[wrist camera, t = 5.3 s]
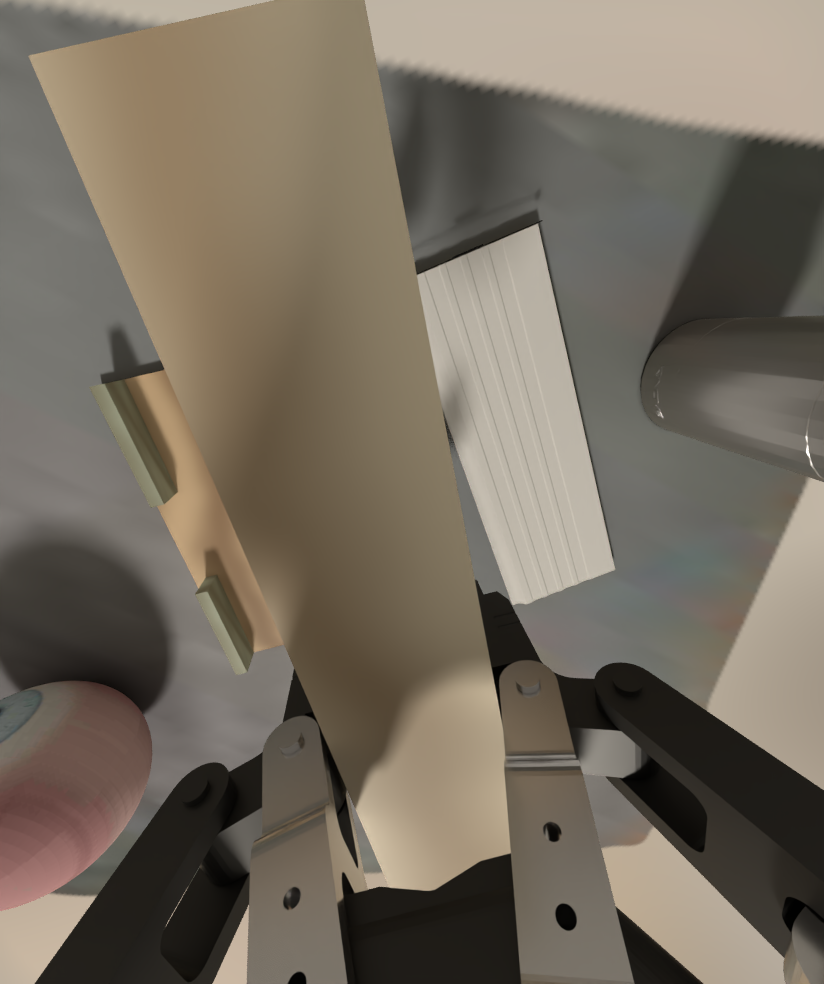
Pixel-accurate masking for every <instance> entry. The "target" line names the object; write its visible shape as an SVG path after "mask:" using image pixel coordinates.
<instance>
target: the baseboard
mask: <svg viewBox="0 0 824 984" xmlns="http://www.w3.org/2000/svg"><path fill="white" fill-rule="evenodd" d="M541 221H542V220H541ZM541 221H539V222H541ZM539 222H537V223H539ZM537 223H535V224H536V225H534V224H532V225H534V226H532V225H530V226H531V227H530V226H528V227H529V228H527V227H525V228H526V229H525V228H523V229H524V230H522V229H521V230H522V231H520V230H518V231H519V232H518V231H516V232H517V233H515V232H514V233H515V234H513V233H511V234H512V235H511V234H509V235H510V236H508V235H506V236H508V237H506V236H504V237H505V238H504V237H502V238H503V239H501V238H499V239H501V240H499V239H497V240H499V241H497V240H495V241H496V242H494V241H492V242H494V243H492V242H490V243H491V244H490V243H488V244H489V245H487V244H485V245H487V246H485V245H483V244H482V245H480V246H477V247H475V248H474V249H470V250H468V251H466V252H464V253H461V254H459V255H457V256H454V257H453V259H454V258H456V259H454V260H452V259H450V260H452V261H450V260H448V261H449V262H447V261H446V262H447V263H445V262H443V263H444V264H443V263H441V264H442V265H440V264H438V265H440V266H438V265H436V266H438V267H436V266H434V267H435V268H433V267H431V268H433V269H431V268H429V269H431V270H429V269H427V270H428V271H426V270H424V271H426V272H424V271H422V272H423V273H422V272H420V273H421V274H419V273H417V274H419V275H417V279H418V284H419V290H420V295H421V300H422V305H423V311H424V316H425V321H426V326H427V332H428V337H429V342H430V347H431V353H432V358H433V363H434V368H435V374H436V379H437V384H438V389H439V395H440V400H441V405H442V410H443V413H444V416H445V419H446V421H447V424H448V427H449V430H450V433H451V435H452V438H453V441H454V444H455V446H456V449H457V452H458V455H459V458H460V460H461V463H462V466H463V469H464V472H465V474H466V477H467V480H468V483H469V485H470V488H471V491H472V494H473V497H474V499H475V502H476V505H477V508H478V510H479V513H480V516H481V519H482V522H483V524H484V527H485V530H486V533H487V536H488V538H489V541H490V544H491V547H492V549H493V552H494V555H495V558H496V561H497V563H498V566H499V569H500V572H501V574H502V577H503V580H504V583H505V586H506V588H507V591H508V594H509V597H510V600H511V602H512V604H513V605H515V604H517V603H524V604H528V603H531V602H533V601H534V600H537V599H539V598H542V597H546V596H548V595H550V594H552V593H555V592H557V591H561V590H564V589H565V588H567V587H570V586H572V585H577V584H579V583H580V582H583V581H585V580H588V579H592V578H595V577H597V576H600V575H602V574H605V573H607V572H610V571H613V570H615V567H614V563H613V558H612V554H611V549H610V545H609V540H608V536H607V531H606V527H605V523H604V518H603V514H602V509H601V505H600V500H599V496H598V491H597V487H596V482H595V478H594V473H593V469H592V464H591V460H590V455H589V451H588V446H587V442H586V437H585V433H584V428H583V424H582V419H581V415H580V410H579V406H578V402H577V397H576V393H575V388H574V384H573V379H572V375H571V370H570V366H569V361H568V357H567V352H566V348H565V343H564V339H563V334H562V330H561V325H560V321H559V316H558V312H557V307H556V303H555V298H554V294H553V289H552V285H551V281H550V276H549V272H548V267H547V263H546V258H545V254H544V249H543V245H542V240H541V236H540V231H539V227H538V224H537ZM483 246H484V247H483ZM480 247H482V248H480ZM478 248H480V249H478ZM476 249H477V250H476ZM473 250H475V251H473ZM471 251H473V252H471ZM469 252H470V253H469ZM466 253H468V254H466ZM464 254H466V255H464ZM462 255H463V256H462ZM459 256H461V257H459ZM457 257H459V258H457Z"/></svg>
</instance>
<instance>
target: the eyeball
mask: <svg viewBox="0 0 824 984" xmlns="http://www.w3.org/2000/svg"><path fill="white" fill-rule="evenodd" d="M151 762H152V741H151V735H150V731H149V727H148V725H147V722H146V720H145V718H144V716H143V714H142V713H141V711H140V709H139V708H138V707H137V706H136V705H135V704H134V703H133V702H132V701H131V700H130V699H129V698H128V697H127V696H125V695H124V694H123V693H121V692H119V691H117V690H115V689H113V688H111V687H109V686H106V685H103V684H99V683H94V682H88V681H61V682H53V683H48V684H43V685H39V686H35V687H32V688H29V689H26V690H23V691H20V692H18V693H15V694H13V695H11V696H9V697H6V698H4V699H2V700H0V911H2V910H6V909H10V908H14V907H18V906H21V905H23V904H26V903H29V902H31V901H34V900H36V899H38V898H40V897H42V896H45V895H47V894H49V893H51V892H53V891H54V890H56V889H58V888H59V887H61V886H63V885H64V884H66V883H68V882H69V881H70V880H72V879H73V878H75V877H76V876H77V875H79V874H80V873H81V872H83V871H84V870H85V869H86V868H88V867H89V866H90V865H91V864H92V863H93V862H94V861H96V860H97V859H98V858H99V857H100V856H101V855H102V854H103V853H104V852H105V851H106V850H107V849H108V847H109V846H110V845H111V844H112V843H113V842H114V841H115V840H116V838H117V837H118V836H119V834H120V833H121V832H122V831H123V829H124V828H125V826H126V825H127V823H128V822H129V820H130V819H131V817H132V815H133V814H134V812H135V810H136V808H137V806H138V804H139V802H140V800H141V798H142V796H143V793H144V791H145V788H146V785H147V781H148V778H149V774H150V769H151Z"/></svg>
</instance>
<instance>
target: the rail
mask: <svg viewBox="0 0 824 984" xmlns="http://www.w3.org/2000/svg"><path fill="white" fill-rule="evenodd" d="M29 58H30V60H31V63H32V65H33V67H34V69H35V72H36V74H37V76H38V79H39V81H40V83H41V86H42V88H43V90H44V92H45V95H46V97H47V99H48V102H49V104H50V106H51V109H52V111H53V113H54V116H55V118H56V120H57V122H58V125H59V127H60V129H61V132H62V134H63V136H64V139H65V141H66V143H67V145H68V148H69V150H70V152H71V155H72V157H73V159H74V162H75V164H76V166H77V169H78V171H79V173H80V175H81V178H82V180H83V182H84V185H85V187H86V189H87V192H88V194H89V196H90V198H91V201H92V203H93V205H94V208H95V210H96V212H97V215H98V217H99V219H100V222H101V224H102V226H103V228H104V231H105V233H106V235H107V238H108V240H109V242H110V245H111V247H112V249H113V251H114V254H115V256H116V258H117V261H118V263H119V265H120V268H121V270H122V272H123V275H124V277H125V279H126V281H127V284H128V286H129V288H130V291H131V293H132V295H133V298H134V300H135V302H136V304H137V307H138V309H139V311H140V314H141V316H142V318H143V321H144V323H145V325H146V328H147V330H148V332H149V334H150V337H151V339H152V341H153V344H154V346H155V348H156V351H157V353H158V355H159V357H160V360H161V362H162V364H163V367H164V369H165V371H166V374H167V376H168V378H169V381H170V383H171V385H172V387H173V390H174V392H175V394H176V397H177V399H178V401H179V404H180V406H181V408H182V410H183V413H184V415H185V417H186V420H187V422H188V424H189V427H190V429H191V431H192V434H193V436H194V438H195V440H196V443H197V445H198V447H199V450H200V452H201V454H202V457H203V459H204V461H205V463H206V466H207V468H208V470H209V473H210V475H211V477H212V480H213V482H214V484H215V487H216V489H217V491H218V493H219V496H220V498H221V500H222V503H223V505H224V507H225V510H226V512H227V514H228V516H229V519H230V521H231V523H232V526H233V528H234V530H235V533H236V535H237V537H238V540H239V542H240V544H241V546H242V549H243V551H244V553H245V556H246V558H247V560H248V563H249V565H250V567H251V569H252V572H253V574H254V576H255V579H256V581H257V583H258V586H259V588H260V590H261V593H262V595H263V597H264V599H265V602H266V604H267V606H268V609H269V611H270V613H271V616H272V618H273V620H274V622H275V625H276V627H277V629H278V632H279V634H280V636H281V639H282V641H283V643H284V646H285V648H286V650H287V652H288V655H289V657H290V659H291V662H292V664H293V666H294V669H295V671H296V673H297V675H298V678H299V680H300V682H301V685H302V687H303V689H304V692H305V694H306V696H307V699H308V701H309V703H310V705H311V708H312V710H313V712H314V715H315V717H316V719H317V722H318V724H319V726H320V728H321V731H322V733H323V735H324V738H325V740H326V742H327V745H328V747H329V749H330V752H331V754H332V756H333V758H334V761H335V763H336V765H337V768H338V770H339V772H340V775H341V777H342V779H343V781H344V784H345V786H346V788H347V791H348V793H349V795H350V798H351V800H352V802H353V804H354V807H355V809H356V811H357V814H358V816H359V818H360V821H361V823H362V825H363V828H364V830H365V832H366V834H367V837H368V839H369V841H370V844H371V846H372V848H373V851H374V853H375V855H376V857H377V860H378V862H379V864H380V867H381V869H382V871H383V874H384V876H385V878H386V881H387V883H388V885H389V887H390V888H400V889H411V890H423V891H431V890H435V889H437V888H438V887H440V886H442V885H443V884H445V883H446V882H448V881H450V880H451V879H453V878H454V877H456V876H458V875H459V874H461V873H462V872H464V871H465V870H467V869H469V868H470V867H472V866H473V865H475V864H477V863H478V862H480V861H482V860H486V859H490V858H494V857H498V856H502V855H506V854H510V853H511V849H510V836H509V824H508V811H507V799H506V786H505V773H504V760H505V747H504V735H503V726H502V721H501V715H500V710H499V705H498V700H497V694H496V689H495V684H494V679H493V673H492V668H491V663H490V658H489V652H488V647H487V642H486V636H485V631H484V626H483V621H482V615H481V610H480V605H479V600H478V594H477V589H476V584H475V579H474V573H473V568H472V563H471V558H470V552H469V547H468V542H467V537H466V531H465V526H464V521H463V516H462V510H461V505H460V500H459V495H458V489H457V484H456V479H455V474H454V468H453V463H452V458H451V453H450V447H449V442H448V437H447V432H446V426H445V421H444V416H443V410H442V405H441V400H440V395H439V389H438V384H437V379H436V374H435V368H434V363H433V358H432V353H431V347H430V342H429V337H428V332H427V326H426V321H425V316H424V311H423V305H422V300H421V295H420V290H419V284H418V279H417V274H416V269H415V263H414V258H413V253H412V248H411V242H410V237H409V232H408V227H407V221H406V216H405V211H404V206H403V200H402V195H401V190H400V184H399V179H398V174H397V169H396V163H395V158H394V153H393V148H392V142H391V137H390V132H389V127H388V121H387V116H386V111H385V106H384V100H383V95H382V90H381V85H380V79H379V74H378V69H377V64H376V58H375V53H374V48H373V43H372V38H371V33H370V27H369V22H368V17H367V11H366V6H365V1H364V0H274V1H269V2H265V3H260V4H256V5H252V6H247V7H243V8H238V9H234V10H229V11H225V12H220V13H216V14H212V15H207V16H203V17H199V18H194V19H189V20H185V21H180V22H176V23H171V24H167V25H163V26H158V27H154V28H149V29H145V30H140V31H136V32H132V33H127V34H123V35H118V36H114V37H109V38H105V39H100V40H96V41H92V42H87V43H83V44H78V45H74V46H69V47H65V48H60V49H56V50H52V51H47V52H43V53H38V54H34V55H29Z"/></svg>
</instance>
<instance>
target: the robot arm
mask: <svg viewBox="0 0 824 984" xmlns="http://www.w3.org/2000/svg"><path fill="white" fill-rule="evenodd" d="M641 398H642V403H643V406H644V409H645V412H646V413H647V415H648V416H649V418H650V419H651V420H652V421H653V422H654V423H655V424H656V425H658V426H660V427H662V428H664V429H666V430H669V431H672V432H675V433H678V434H681V435H684V436H687V437H690V438H693V439H696V440H698V441H701V442H704V443H707V444H710V445H713V446H716V447H719V448H722V449H725V450H728V451H731V452H734V453H737V454H740V455H743V456H746V457H750V458H753V459H756V460H759V461H762V462H765V463H768V464H771V465H774V466H777V467H780V468H783V469H786V470H789V471H792V472H795V473H798V474H801V475H804V476H807V477H810V478H813V479H816V480H819V481H822V482H824V316H792V317H756V318H750V317H748V318H716V319H700V320H695V321H691V322H688V323H686V324H684V325H682V326H680V327H678V328H677V329H675V330H674V331H672V332H671V333H670V334H668V335H667V336H666V337H665V338H664V339H663V340H662V341H661V342H660V343H659V344H658V346H657V347H656V349H655V350H654V351H653V353H652V354H651V356H650V358H649V360H648V362H647V364H646V366H645V370H644V373H643V376H642V382H641ZM475 584H476V589H477V594H478V600H479V605H480V610H481V615H482V621H483V626H484V631H485V636H486V642H487V647H488V652H489V658H490V663H491V668H492V673H493V679H494V684H495V689H496V694H497V700H498V705H499V710H500V715H501V721H502V726H503V735H504V747H505V760H504V773H505V786H506V799H507V811H508V824H509V836H510V849H511V853H510V854H506V855H502V856H498V857H494V858H490V859H486V860H482V861H480V862H478V863H477V864H475V865H473V866H472V867H470V868H469V869H467V870H465V871H464V872H462V873H461V874H459V875H458V876H456V877H454V878H453V879H451V880H450V881H448V882H446V883H445V884H443V885H442V886H440V887H438V888H437V889H435V890H431V891H423V890H411V889H400V888H388V887H377V888H373V889H369V890H368V888H367V885H366V881H365V877H364V872H363V867H362V862H361V856H360V851H359V846H358V840H357V835H356V830H355V825H354V819H353V814H352V809H351V804H350V799H349V795H348V793H347V788H346V786H345V784H344V781H343V779H342V777H341V775H340V772H339V770H338V768H337V765H336V763H335V761H334V758H333V756H332V754H331V752H330V749H329V747H328V745H327V742H326V740H325V738H324V735H323V733H322V731H321V728H320V726H319V724H318V722H317V719H316V717H315V715H314V712H313V710H312V708H311V705H310V703H309V701H308V699H307V696H306V694H305V692H304V689H303V687H302V685H301V682H300V680H299V678H298V675H297V673H296V671H295V669H294V672H293V677H292V678H293V680H292V681H291V686H290V691H289V695H288V700H287V705H286V710H285V714H284V719H283V723H282V724H280V725H279V726H278V727H277V728H276V729H275V730H274V731H273V732H272V733H271V734H270V736H269V737H268V739H267V740H266V743H265V745H264V748H263V752H262V753H261V754H259V755H258V756H256V757H255V758H253V759H252V760H250V761H248V762H246V763H244V764H243V765H241V766H239V767H237V768H235V769H234V770H232V771H230V772H228V770H227V768H226V767H225V766H224V765H222V764H221V763H207V764H204V765H202V766H200V767H198V768H196V769H194V770H193V771H191V772H190V773H189V774H187V775H186V776H185V777H184V778H183V779H182V780H181V781H180V782H179V783H178V784H177V785H176V787H175V788H174V789H173V791H172V792H171V793H170V795H169V796H168V798H167V799H166V800H165V802H164V803H163V805H162V806H161V807H160V809H159V810H158V812H157V813H156V814H155V816H154V817H153V819H152V820H151V821H150V823H149V824H148V826H147V827H146V828H145V830H144V831H143V833H142V834H141V835H140V837H139V838H138V840H137V841H136V842H135V844H134V845H133V847H132V848H131V849H130V851H129V852H128V854H127V855H126V856H125V858H124V859H123V861H122V862H121V863H120V865H119V866H118V868H117V869H116V870H115V872H114V873H113V875H112V876H111V877H110V879H109V880H108V882H107V883H106V884H105V886H104V887H103V889H102V890H101V891H100V893H99V894H98V896H97V897H96V898H95V900H94V901H93V903H92V904H91V905H90V907H89V908H88V910H87V911H86V912H85V914H84V915H83V917H82V918H81V919H80V921H79V922H78V924H77V925H76V927H75V928H74V929H73V931H72V932H71V934H70V935H69V936H68V938H67V939H66V940H65V942H64V943H63V945H62V946H61V947H60V949H59V950H58V952H57V953H56V954H55V956H54V957H53V959H52V960H51V961H50V963H49V964H48V966H47V967H46V968H45V970H44V971H43V973H42V974H41V976H40V977H39V978H38V980H37V981H36V983H35V984H212V983H213V981H214V979H215V977H216V975H217V972H218V970H219V968H220V966H221V963H222V962H223V959H224V957H225V955H226V953H227V951H228V948H229V946H230V944H231V942H232V940H233V938H234V935H235V933H236V931H237V929H238V927H239V924H240V922H241V920H242V918H243V915H244V913H245V911H246V909H247V907H248V905H249V929H248V961H247V962H248V963H247V984H703V983H702V982H701V981H700V980H699V979H697V978H696V977H695V976H694V975H693V974H692V973H691V972H690V971H688V970H687V969H686V968H685V967H684V966H683V965H682V964H680V963H679V962H678V961H677V960H676V959H675V958H674V957H673V956H671V955H670V954H669V953H668V952H667V951H666V950H665V949H663V948H662V947H661V946H660V945H659V944H658V943H657V942H655V941H654V940H653V939H652V938H651V937H650V936H649V935H648V934H646V933H645V932H644V931H643V930H642V929H641V928H640V927H639V926H637V925H636V924H635V923H634V922H633V921H632V920H631V919H629V918H628V917H627V916H626V915H625V914H624V913H623V912H621V911H620V910H619V909H618V908H617V907H616V906H615V903H614V899H613V895H612V891H611V886H610V882H609V878H608V874H607V870H606V866H605V862H604V858H603V854H602V850H601V846H600V842H599V838H598V834H597V830H596V826H595V822H594V817H593V813H592V809H591V805H590V801H589V797H588V793H587V789H586V785H585V781H584V777H583V774H590V775H599V776H606V778H607V779H608V780H609V781H610V782H611V783H612V784H613V785H614V786H615V787H616V788H617V789H618V790H619V791H620V792H621V793H622V794H623V795H624V796H625V797H626V799H627V800H628V801H629V802H630V803H631V804H632V805H633V806H634V807H635V808H636V809H637V810H638V811H639V812H640V813H641V814H642V815H643V816H644V817H645V818H646V819H647V820H648V821H649V822H650V823H651V824H652V825H653V826H654V827H655V828H656V829H657V830H658V831H659V832H660V833H661V834H662V835H663V836H664V837H665V838H666V839H667V840H668V841H669V842H670V843H671V844H672V845H673V846H674V847H675V848H676V849H677V850H678V851H679V852H680V853H681V854H682V855H683V856H684V857H685V858H686V859H687V860H688V861H689V862H690V863H691V864H692V865H693V866H694V867H695V868H696V869H697V870H698V871H699V872H700V873H701V874H702V875H703V876H704V877H705V878H706V879H707V880H708V881H709V882H710V883H711V884H712V885H713V886H714V887H715V888H716V889H717V890H718V891H719V893H720V894H721V895H722V896H724V898H725V899H726V900H728V902H729V903H730V904H732V906H733V907H734V908H735V909H736V910H737V911H738V912H739V913H740V914H741V915H742V916H743V917H744V918H746V920H747V921H748V922H749V923H750V924H751V925H752V926H753V927H754V928H755V929H756V930H757V931H758V932H759V933H760V934H761V935H762V936H763V937H764V938H765V939H766V940H767V941H768V942H769V943H770V944H771V945H772V946H773V947H774V948H775V949H776V950H777V951H778V952H779V953H780V954H781V955H782V956H783V957H784V966H783V971H784V978H785V982H786V984H824V790H822V789H821V788H819V787H818V786H817V785H815V784H813V783H812V782H811V781H809V780H808V779H806V778H805V777H803V776H802V775H800V774H799V773H797V772H796V771H794V770H793V769H791V768H790V767H788V766H787V765H786V764H784V763H783V762H781V761H779V760H778V759H777V758H775V757H774V756H772V755H771V754H769V753H768V752H766V751H765V750H763V749H762V748H760V747H759V746H758V745H756V744H755V743H753V742H752V741H750V740H749V739H747V738H746V737H744V736H743V735H741V734H740V733H738V732H737V731H735V730H734V729H732V728H731V727H729V726H728V725H727V724H725V723H724V722H722V721H721V720H719V719H718V718H716V717H715V716H713V715H712V714H710V713H709V712H707V711H706V710H704V709H703V708H701V707H700V706H699V705H697V704H696V703H694V702H693V701H691V700H690V699H688V698H687V697H685V696H684V695H682V694H681V693H679V692H678V691H676V690H675V689H673V688H672V687H671V686H669V685H668V684H666V683H665V682H663V681H662V680H660V679H659V678H657V677H656V676H654V675H653V674H651V673H650V672H648V671H647V670H645V669H643V668H641V667H639V666H636V665H633V664H629V663H612V664H608V665H606V666H604V667H602V668H601V669H600V670H599V671H598V672H597V673H596V676H595V679H583V678H569V677H564V676H561V675H558V674H556V673H554V672H553V671H552V670H551V669H550V668H548V667H547V666H546V665H544V664H543V663H542V662H541V660H540V659H539V657H538V655H537V653H536V651H535V649H534V647H533V645H532V643H531V641H530V639H529V638H528V636H527V634H526V632H525V630H524V628H523V626H522V624H521V623H520V620H519V618H518V617H517V615H516V614H515V611H514V609H513V607H512V605H511V603H510V601H509V600H508V599H507V598H505V597H504V596H503V595H501V594H500V593H499V592H492V593H488V594H484V595H483V593H482V590H481V588H480V586H479V584H478V581H477V580H475ZM199 866H200V868H199ZM198 868H199V870H198ZM197 870H198V871H197ZM196 871H197V873H196ZM195 873H196V875H195ZM194 875H195V877H194ZM193 877H194V878H193ZM192 878H193V880H192ZM191 880H192V882H191ZM190 882H191V884H190ZM189 884H190V885H189ZM188 885H189V887H188ZM187 887H188V889H187ZM186 889H187V891H186ZM185 891H186V892H185ZM184 892H185V894H184ZM183 894H184V896H183ZM182 896H183V898H182ZM181 898H182V900H181V901H180V899H181ZM179 901H180V903H179V905H178V902H179ZM177 905H178V906H177ZM176 906H177V908H176ZM175 908H176V910H175ZM174 910H175V912H174ZM173 912H174V913H173ZM172 913H173V915H172ZM171 915H172V917H171ZM170 917H171V919H170ZM169 919H170V921H169V922H168V920H169ZM167 922H168V924H167ZM166 924H167V926H166ZM165 926H166V927H165Z"/></svg>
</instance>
